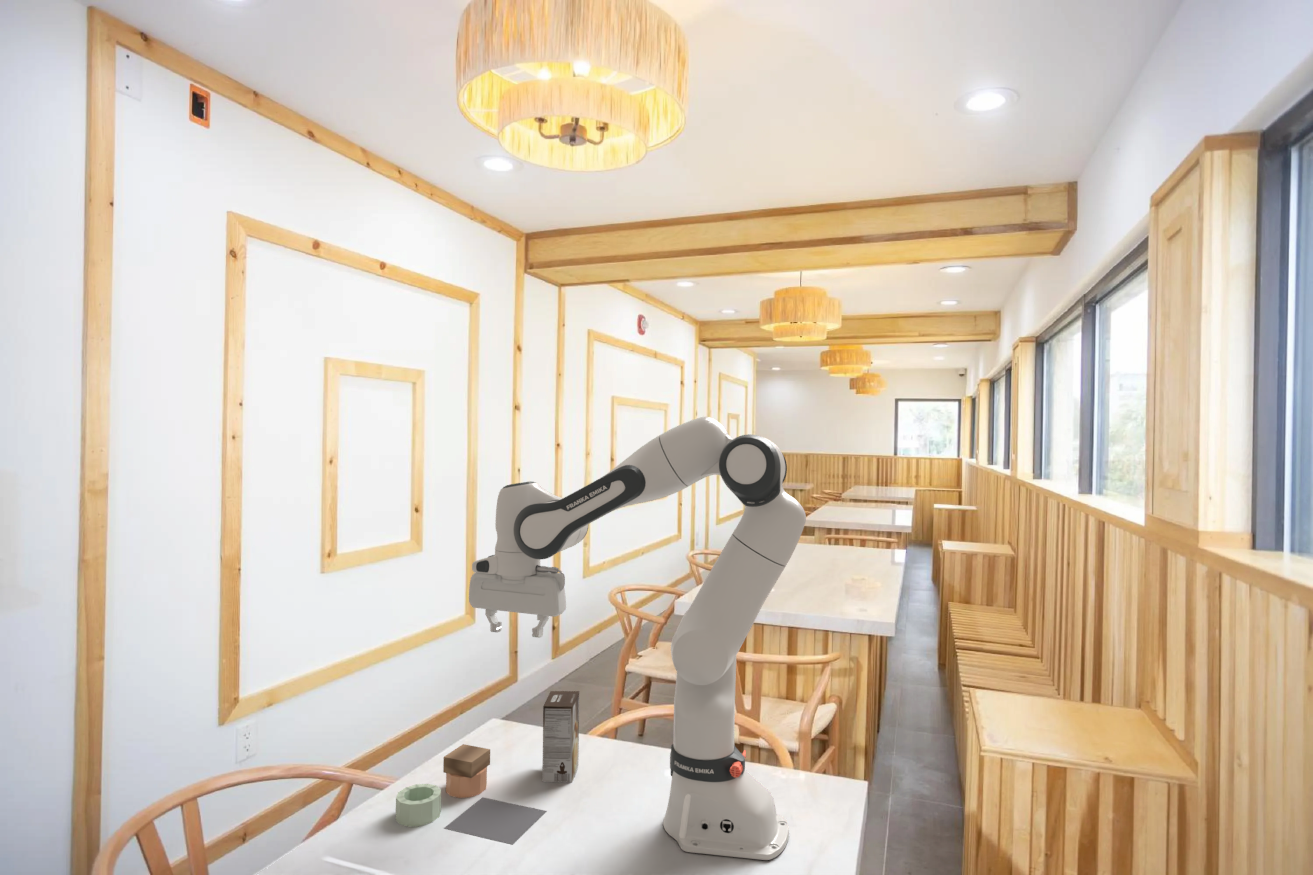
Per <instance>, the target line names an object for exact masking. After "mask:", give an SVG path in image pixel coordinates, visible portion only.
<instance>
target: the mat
mask: <svg viewBox="0 0 1313 875" xmlns="http://www.w3.org/2000/svg"><path fill="white" fill-rule="evenodd" d="M547 812H548V811H547V810H544V809H541V808H540V809H539V808H535V807H530V806H525V805H520V804H517V803H511V802H507V801H503V800H496V799H494V798H493V799H492V798H488V797H484V796H483V797H481V798H480V799H478V800H477V801H475V802H474V803H473V804H472V805H471V806H469V807H468V808H467V809H466V810H465V811H463V812H462V813H460V815H458V816H457V817H456V818H454V819H453V820H452V821H451V822H449V824H447V825H446V826H444V827H443V829H445V830H449V831H453V832H458V833H462V834H466V835H470V836H474V837H478V838H482V839H483V838H484V839H487V840H491V841H495V842H499V843H503V844H509V845H514V844H515V843H516V842H517V841H519V839H520V838H521V837H522V836H523V835H524V834H525V833H527V831H529V830H530V829H531V828H532V827H533V826H534V825H535V824H536V823H537V822H538V821H539V820H540V819H541V818H542V817H543V816H544V815H545V814H546V813H547Z"/></svg>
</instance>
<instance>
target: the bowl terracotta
mask: <svg viewBox="0 0 1313 875" xmlns="http://www.w3.org/2000/svg"><path fill="white" fill-rule="evenodd" d="M445 775H446V776H445V786H446V787H445V792H446V794H447V795H449V796H450V797H454V798H458V799H463V798H464V799H465V798H472V797H475V796H478V795H481V794H483V792H485V791H486V790H487V786H488V785H487V784H488V766H487V767H486V768H484V769H483V770H482V771H480V772H479V773H478V774H476V775H475V776H474V777H472V778H468V777H463V776H458V775H454V774H449V773H445Z"/></svg>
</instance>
